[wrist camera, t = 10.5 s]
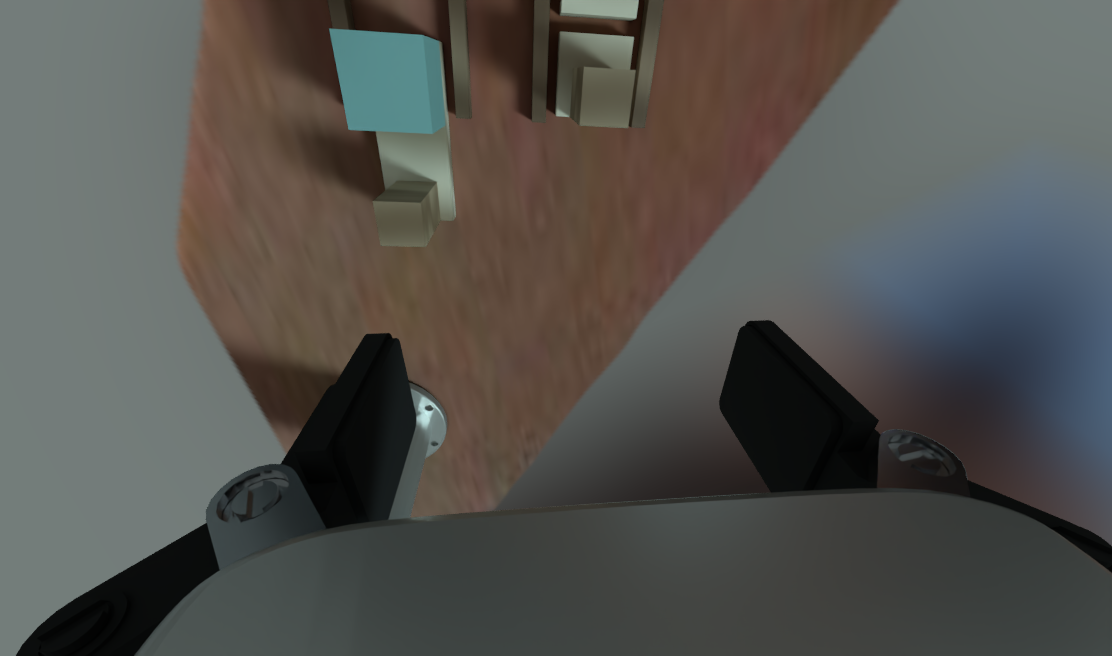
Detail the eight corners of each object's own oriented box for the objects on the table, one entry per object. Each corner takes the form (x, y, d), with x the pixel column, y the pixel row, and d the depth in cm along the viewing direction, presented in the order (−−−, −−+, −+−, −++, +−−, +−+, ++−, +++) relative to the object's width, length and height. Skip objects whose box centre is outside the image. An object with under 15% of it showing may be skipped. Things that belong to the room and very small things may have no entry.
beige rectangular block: (619, 117, 31) (644, 128, 25) (554, 114, 31) (563, 124, 25) (629, 38, 29) (659, 28, 22) (558, 33, 28) (568, 21, 22)
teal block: (445, 125, 29) (432, 133, 25) (374, 121, 29) (348, 129, 25) (438, 41, 27) (422, 34, 23) (360, 35, 26) (328, 28, 22)
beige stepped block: (455, 215, 34) (440, 247, 28) (395, 213, 34) (365, 245, 28) (442, 42, 28) (419, 33, 22) (367, 37, 28) (321, 26, 21)
